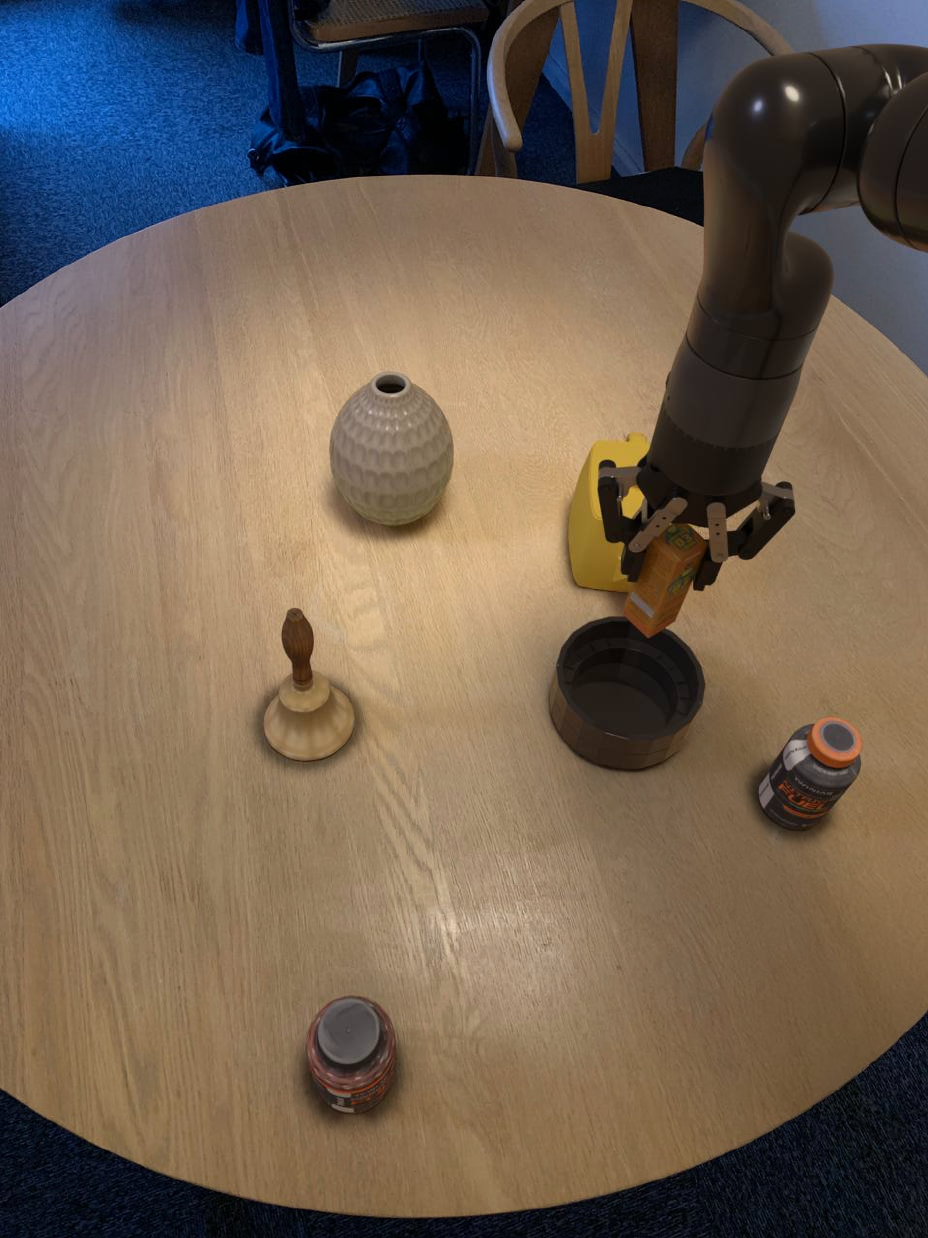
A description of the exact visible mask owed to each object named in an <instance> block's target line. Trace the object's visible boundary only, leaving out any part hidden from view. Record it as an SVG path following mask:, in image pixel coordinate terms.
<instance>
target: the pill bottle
mask: <svg viewBox="0 0 928 1238" xmlns="http://www.w3.org/2000/svg"><path fill="white" fill-rule="evenodd" d="M862 749H863V741H862V737H861V735H860V733H859V731H858V730H857V729H856V728H855V727H854V726H853V725H852V724H851V723H850V722H848V721H846V720H844V719H842V718H839V717H833V716H828V717H823V718H820V719H819V720H817V721H816V722H815V723H810V724H806V725H803V726H801V727H800V728H797V730H795V731H794V732H793V733H792V734H791V736H790V737H789V739H788V740H787V742H786V744H785V745H784V746H783V748H782V749H781V751H780V752H779V753H778V755H777V756H776V758H775V760H774V761H773V763H771V765H770V767H769V769H768V770H767V771H766V772H765V774H764V776H763V777H762V778H761V781H760V783H759V786H758V798H759V802H760V804H761V807H762V809H763V811H764V812H765V813H766V814H767V815H768V817H769V818H770V819H771V820H773V821H774V822H775V823H777V824H778V825H780V826H783V827H784V828H787V829H791V830H795V831H798V830H799V831H803V830H807V829H811V828H813V827H815V826H816V825H818V824H819V823H820V822H821V821H822V820H823V819H824V818H825V816H826V815H827V814H828V813H829V812H830V811H831V809H833V808H834V806H835V805H836V804H837V802H839V800H840V799H841V798H842V796H843V795H844V794H845V793H846V792H847V791H848V789H849V788H850V787H851V786H852V785H853V783H855V781H856V780H857V779H858V777H859V774H860V772H861V767H862V758H861V752H862Z"/></svg>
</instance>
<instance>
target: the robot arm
mask: <svg viewBox="0 0 928 1238" xmlns="http://www.w3.org/2000/svg"><path fill="white" fill-rule="evenodd" d="M702 177H703V178H702V179H703V212H704V213H703V262H702V274H701V278H700V281H699V283H698V287H697V291H696V294H695V297H694V301H693V304H692V308H691V312H690V316H689V318H688V323H687V326H686V330H685V333H684V335H683V337H682V340H681V342H680V344H679V346H678V348H677V351H676V353H675V356H674V359H673V362H672V365H671V369H670V370H669V371H668V374H667V376H666V379H665V390H664V394H663V398H662V401H661V404H660V409H659V412H658V414H657V415H658V416H657V419H656V423H655V427H654V430H653V435H652V436H651V441H650V443H649V444H650V448H649V451H648V452H647V454H646V455H645V456H644V457H643V458H641V459H640V461H639V462H638V464H637V466H629V467H618V468H616V464H615V462H614V461H612V460H609V459H606V460H603V461H601V462H600V463H599V468H598V487H597V491H598V497H599V503H600V509H601V515H602V521H603V526H604V532H605V538H606V540H607V541H608V542H610V543H618V542H622V543H624V547H623V550H622V554H621V573H622V575H627V582H634V583H637V580H638V577H639V574H640V570H641V567H642V564H643V561H644V557H645V554H646V547H647V546H648V544H649V543H650V542H651V541H652V540H653V538H654V537H659V536H660V535H661V534H662V533H663V532H664V530H665V529H666V528H667V527H668V526H669V524H670V523H671V524H685V523H688V524H691V525H692V526H693V527H697V528H705V529H708V538H704V539H705V540H706V541H707V543H708V547H707V549H706V551H705V553H704V555H703V558H702V560H701V562H700V565H699V567H698V569H697V572H696V574H695V576H694V579H693V581H692V590H693V591H696V592H704V590H705V588H706V586H707V587H711V586H712V585H713V584H715V583H716V580H717V577H718V576H719V573H720V571H721V569H722V566H723V564H724V562H726V561H727V560H728V559H729V558H731V557H738V558H739V559H740V560H743V561H751V560H752V559H754V558H755V557H756V556H757V555H758V554H759V553H760V552H761V551H762V550H763V549H764V547H765V546H766V545H767V544H768V543H769V542H770V541H771V540H772V539H773V538H774V537H775V536H776V535H777V534H778V533H779V532H780V531H781V529H783V527H784V526H786V524H787V523H788V522H789V521H790V520H791V519H792V518H793V517H794V516H795V514H796V505H795V504H796V502H795V495H794V488H793V484H792V483H791V482H789V481H784V480H782V481H779V482H777V483H776V484H775V485H774V484H772V483H771V484H770V483H768V482H766V481H764V480H763V477H762V476H763V474H764V472H765V470H766V466H767V464H768V461H769V459H770V456H771V455H772V452H773V450H774V447H775V445H776V442H777V440H778V438H779V435H780V434H781V431H782V429H783V426H784V423H785V421H786V418H787V416H788V413H789V412H790V409H791V407H792V404H793V402H794V400H795V396H796V393H797V390H798V387H799V384H800V381H801V380H800V379H801V374H802V370H803V367H804V364H805V361H806V358H807V356H808V353H809V351H810V348H811V346H812V344H813V341H814V340H815V339H814V338H815V336H816V334H817V332H818V329H819V327H820V324H821V322H822V319H823V317H824V314H825V312H826V310H827V307H828V304H829V301H830V299H831V295H832V293H833V288H834V282H835V270H834V263H833V261H832V259H831V257H830V255H829V254H828V252H827V250H825V249H824V248H823V247H822V246H821V245H820V244H819V243H818V242H817V241H816V240H813V239H812V238H810V237H808V236H806V235H803V234H801V233H800V232H796V231H793V230H790V229H791V226H792V225H793V223H794V221H795V220H796V218H797V217H801V216H806V215H810V214H816V213H821V212H826V211H832V210H838V209H844V208H845V209H846V208H850V207H858V206H859V207H860V209H861V210H862V212H863V214H864V216H865V218H866V219H867V221H868V222H869V223H870V224H871V226H872V227H873V228H874V229H875V230H876V231H878V232H879V233H880V234H882V235H883V236H885V237H886V238H888V239H890V240H892V241H894V242H896V243H898V244H900V245H903V246H905V247H907V248H909V249H913V250H915V251H919V252H921V253H926V254H928V47H925V46H919V45H913V44H901V43H866V44H857V45H848V46H841V47H833V48H826V49H820V50H819V49H818V50H809V51H803V52H794V53H793V52H792V53H785V54H784V53H783V54H778V55H771V56H766V57H762V58H760V59H757V60H754V61H752V62H751V63H749V64H748V65H745V66H744V67H743V68H742V69H740V70H739V71H738V72H737V73H736V74H735V75H734V77H732V78H731V79H730V80H729V82H728V84H727V85H726V86H725V87H724V88H723V90H722V92H721V93H720V95H719V97H718V98H717V100H716V102H715V104H714V106H713V108H712V111H711V113H710V114H709V118H708V121H707V125H706V127H705V133H704V139H703V144H702ZM762 480H763V481H762ZM634 485H637V486H638V487H639V489H640V490H641V492H642V494H643V495H644V499H643V501H642V504H641V507H640V508H639V509H638V511H637V512H636V513H635V514H634V516H633V517H632V518H629V517H626V516H624V515H623V510H622V503H621V501H623V498H624V497H626V496H627V495H628V493H629V489H630V488H631V487H632V486H634ZM755 502H756V506H755V507H754V508H753V510H752V511H750V513H749V514H748V515H747V516H746V517H745V518H744V520H743V521H742V522H741V523H740V524H739V526H737V528H736V529H735V530H734V529H733V530H728V528H727V519H729V518H731V517H732V516H735V514H738V513H739V512H740V511H742V510H745V508H747V507H749V506H750V505H752V504H754V503H755Z"/></svg>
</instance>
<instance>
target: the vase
mask: <svg viewBox="0 0 928 1238" xmlns="http://www.w3.org/2000/svg"><path fill="white" fill-rule="evenodd" d="M334 419H335V420H334V422H333V424H332V425H333V426H332V427H331V432H330V437H329V446H328V454H329V465H330V471H331V475H332V477H333V481H334V483H335V485H336V487H337V490H338V492H339V493H340V495H341V497H342V498H343V499H344V501H346V503H347V504H348V505H349V506H350V507H351V508H352V509H353V510H354V511H355V512H356V513H358V514H359V515H360V516H361V517H363V518H364V519H367V520H368V521H370V522H373V523H376V524H379V525H383V526H387V527H397V526H403V525H407V524H410V523H413V522H415V521H417V520H419V519H421V518H423V517H424V516H425V515H426V514H427V513H428V512H430V511H431V510H432V509H433V508H434V507H435V506H436V505H437V503H438V502H439V501H440V499H441V498H442V497H443V495H444V494H445V492H446V490H447V488H448V485H449V483H450V481H451V477H452V473H453V468H454V461H455V460H454V458H455V457H454V456H455V446H454V438H453V437H454V436H453V434H452V430H451V427H450V424H449V422H448V419H447V417H446V415H445V413H444V411H443V409H442V408H441V407H440V405H439V404H438V402H437V401H436V400H435V398H433V396H431V394H429V393H428V392H427V391H426V390H424V389H423V388H422V387H421V386H419V385H418V384H416V383H414V382H412V381H411V379H410V378H409V377H408V376H407V375H406V374H404V373H401V372H398V371H383V372H380V373H377V374H375V376H373V377H372V379H371V380H370V382H367V383H366V384H364V385H362V386H361V387H359V388H358V389H356V391H354V392H353V393H352V394H351V395H350V397H348V398H347V400H346V401H345V402H344V404H343V405H342V407H341V409H340V410H339V411H338V413H337V416H336V417H335V418H334Z"/></svg>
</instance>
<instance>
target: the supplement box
mask: <svg viewBox="0 0 928 1238" xmlns="http://www.w3.org/2000/svg"><path fill="white" fill-rule="evenodd" d="M705 539H706V538H704V537H703V536H702V535H701V534H700V533H699V532H697V530H696V529H695V528H693V526H692V527H691V526H690V525H689V524H688V523H685V524H670V525H669V526H668V527H667V528H666V529H665V530H664V532H663V533H662V534H661V535H660V536H659V537H654V538H653V540H652V541H651V542H650V543H649V544H648V546H647V547H646V554H645V557H644V561H643V564H642V567H641V570H640V574H639V577H638V580H637V583H634V582H633V583H632V586H631V589H630V592H629V593H627V594H628V595H627V598H626V600H625V604H624V606H623V609H622V614H623V616H625V617H626V618H627V619H628V620H630V622H631V623H632V624H634V625H635V626H636V627H637V628H638V629H639V630H640V631H641V632H642V633H643V634H644V635H645V636H646V637H647V638H650V637H652V636H653V635H655V634H656V633H658V632H660V631H661V630H663V629H664V628H666V629H667V628H668V627H669V626H670V625H672V624H674V623H675V622H676V621H677V618H678V616H679V614H680V611H681V608H682V606H683V604H684V602H685V599H686V597H687V595H688V592H689V590H690V587H691V586H692V584H693V579H694V576H695V574H696V572H697V569H698V567H699V565H700V562H701V560H702V558H703V555H704V553H705V551H706V549H707V547H708V543H707V541H706V540H705Z"/></svg>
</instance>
